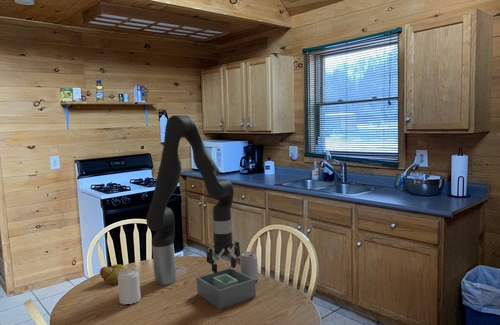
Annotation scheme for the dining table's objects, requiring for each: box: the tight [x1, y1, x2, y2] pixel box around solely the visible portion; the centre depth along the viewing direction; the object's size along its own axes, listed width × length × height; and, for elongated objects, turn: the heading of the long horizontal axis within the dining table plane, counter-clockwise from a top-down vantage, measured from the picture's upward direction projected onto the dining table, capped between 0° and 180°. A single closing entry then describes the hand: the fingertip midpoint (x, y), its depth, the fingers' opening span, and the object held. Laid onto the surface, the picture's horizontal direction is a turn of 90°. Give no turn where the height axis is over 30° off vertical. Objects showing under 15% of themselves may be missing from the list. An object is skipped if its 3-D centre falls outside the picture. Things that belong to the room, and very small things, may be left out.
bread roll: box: [99, 264, 128, 285], centre depth 180 cm, size 13×10×8 cm
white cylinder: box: [117, 268, 142, 305], centre depth 158 cm, size 8×8×12 cm
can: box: [239, 251, 259, 282], centre depth 174 cm, size 8×8×12 cm
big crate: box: [196, 266, 257, 310], centre depth 160 cm, size 18×17×7 cm
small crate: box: [213, 274, 238, 290], centre depth 160 cm, size 9×6×6 cm, turn 36°
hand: (224, 269), depth 159 cm, fingers open, 8 cm apart
